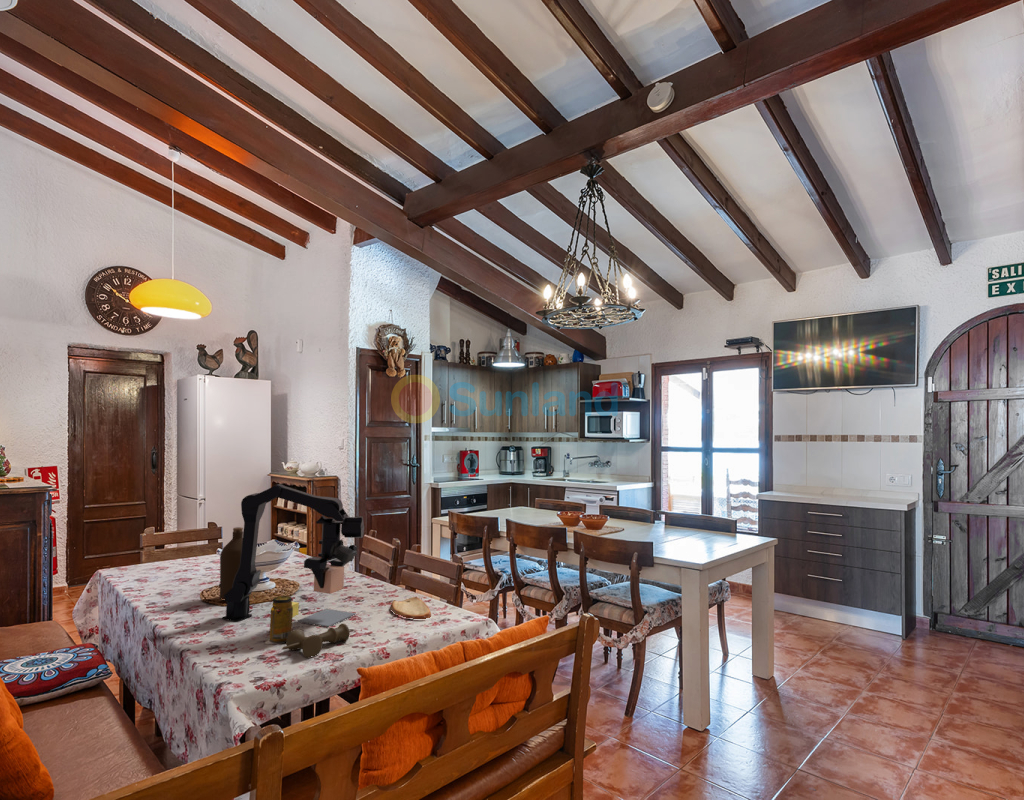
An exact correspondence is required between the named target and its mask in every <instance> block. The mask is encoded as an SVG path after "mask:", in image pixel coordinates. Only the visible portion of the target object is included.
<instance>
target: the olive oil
mask: <svg viewBox="0 0 1024 800" xmlns="http://www.w3.org/2000/svg"><path fill="white" fill-rule="evenodd" d="M232 530H233V531H232V539H231V540H230V541H229V542H227V544H226V545H225V546H223V548H222V550H221V552H220V555H219V575H220V576H219V577H220V578H219V584H218V585H219V587H218V588H219V599H220V598H222V599H225V598H224V595H225V594H226V593H227V592H228V591H229V590H230V589H232V585H233V582H234V578H235V575H236V573H237V571H238V569H239V566H240V559H241V549H242V540H243V531H244V527H242V526H241V527H240V526H238V527H237V526H236V527H233V529H232ZM248 596H249V597H250V595H248Z"/></svg>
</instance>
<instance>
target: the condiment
mask: <svg viewBox="0 0 1024 800" xmlns="http://www.w3.org/2000/svg"><path fill="white" fill-rule="evenodd" d="M292 600H293V598H292V596H290V595H279V596H276V597H274V598H273V599H272V605H271V606H272V607H271V608H270V621H269V622H270V623H269V638H268V640H266V641H265V642H264V644H265V645H266V644H268V645H269V644H270V645H273V644H274V645H275V644H276V645H278V644H285V643H284V642H286V641H287V637H288V635H289V633H291V632H292V631H293V618H294V617H293V606H292V602H293V601H292Z"/></svg>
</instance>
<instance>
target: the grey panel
mask: <svg viewBox="0 0 1024 800" xmlns="http://www.w3.org/2000/svg"><path fill="white" fill-rule="evenodd" d="M355 614H356V615H357V613H356V612H352V611H343V610H337V609H331V608H325V609H321V610H320V611H317V612H314V613H313V614H310V615H308V616H305V617H302V618H300V619H298V620H297V623H300V622H302V623H301V624H306V623H309V624H308V625H311V624H315V625H314V626H317V625H321V626H320V627H323V626H326V627H325V628H328V627H329V626H331V627H333V626H335V625H337V624H339V623H338V622H340V621H342V622H344V621H345V619H346V620H348V619H350V618H352V617H351V616H353V615H355ZM356 615H355V616H356ZM349 617H350V618H349ZM353 617H354V616H353ZM347 618H348V619H347ZM343 620H344V621H343ZM336 623H337V624H336ZM340 623H341V622H340ZM334 624H335V625H334ZM332 625H333V626H332ZM329 628H330V627H329Z"/></svg>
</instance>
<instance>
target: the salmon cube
mask: <svg viewBox="0 0 1024 800" xmlns="http://www.w3.org/2000/svg"><path fill="white" fill-rule="evenodd" d="M326 567H329V569H328V570H327V571H326V573H325V582H324V588H320V586H319V584H318V582H317V580H316V578H315V576H313V592H316V593H322V594H329V595H330V594H334V593H336V592H339V591H342V590H344V584H345V583H344V581H345V580H344V579H345V566H344V567H342V566H334V565H331V564H327V565H326Z"/></svg>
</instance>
